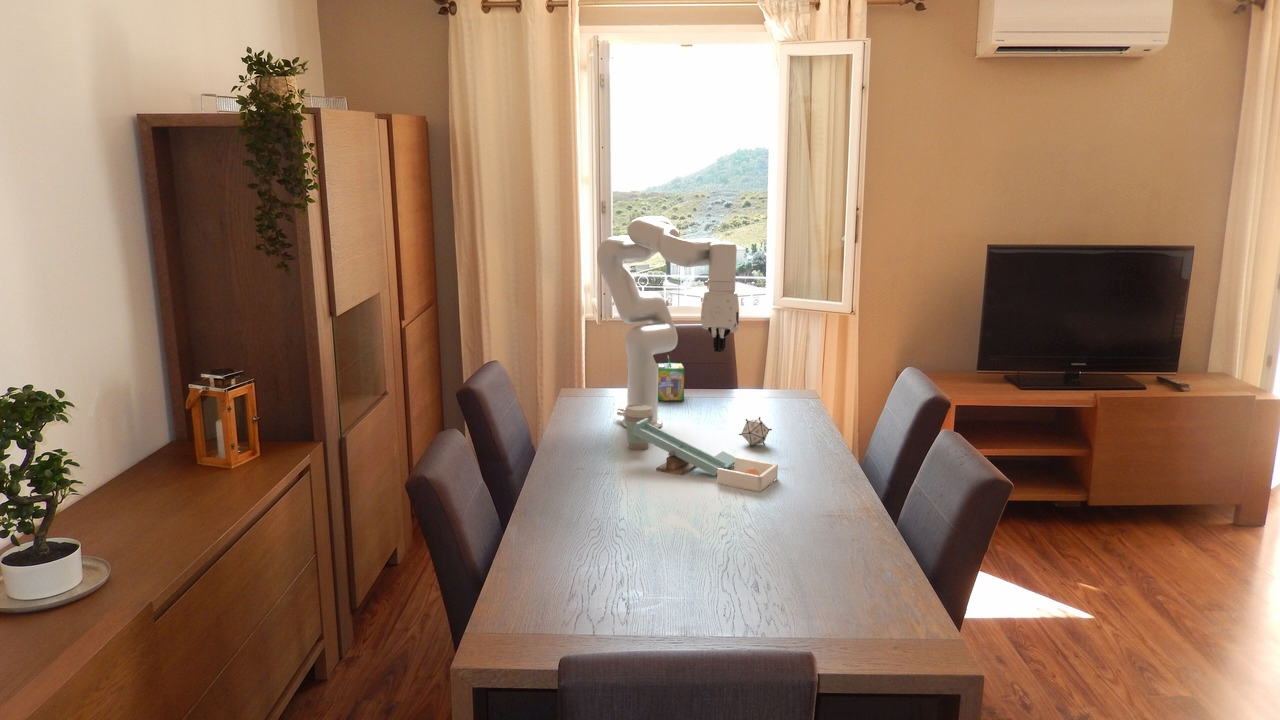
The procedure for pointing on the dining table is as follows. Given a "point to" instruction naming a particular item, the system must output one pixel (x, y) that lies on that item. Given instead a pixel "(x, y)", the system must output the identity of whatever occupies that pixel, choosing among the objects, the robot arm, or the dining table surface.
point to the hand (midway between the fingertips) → (719, 350)
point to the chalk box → (670, 381)
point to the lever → (683, 448)
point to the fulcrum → (675, 466)
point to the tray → (748, 475)
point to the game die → (755, 432)
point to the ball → (753, 471)
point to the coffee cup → (633, 416)
